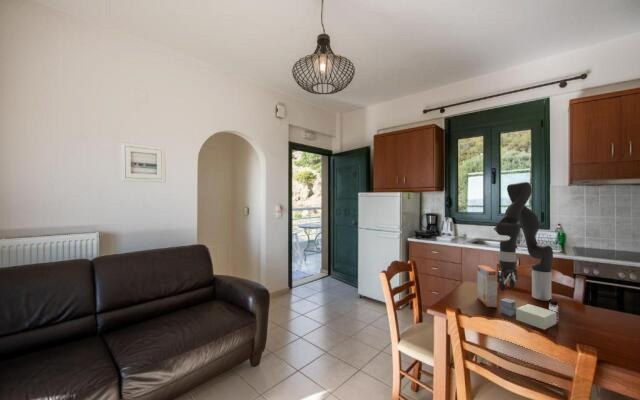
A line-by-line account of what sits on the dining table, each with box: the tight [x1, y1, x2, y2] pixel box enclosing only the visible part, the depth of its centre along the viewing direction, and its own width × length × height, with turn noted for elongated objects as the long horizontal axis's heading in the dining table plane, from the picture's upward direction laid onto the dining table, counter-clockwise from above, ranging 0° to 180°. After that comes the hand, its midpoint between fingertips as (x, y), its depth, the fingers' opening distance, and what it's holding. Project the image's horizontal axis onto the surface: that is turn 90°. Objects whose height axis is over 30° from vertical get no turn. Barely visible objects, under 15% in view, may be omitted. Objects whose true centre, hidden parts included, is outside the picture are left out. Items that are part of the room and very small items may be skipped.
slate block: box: [500, 297, 517, 317], centre depth 146 cm, size 5×5×7 cm
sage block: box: [515, 303, 557, 330], centre depth 136 cm, size 12×12×6 cm
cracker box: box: [477, 264, 498, 308], centre depth 160 cm, size 14×6×21 cm, turn 168°
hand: (507, 289), depth 146 cm, fingers open, 8 cm apart
